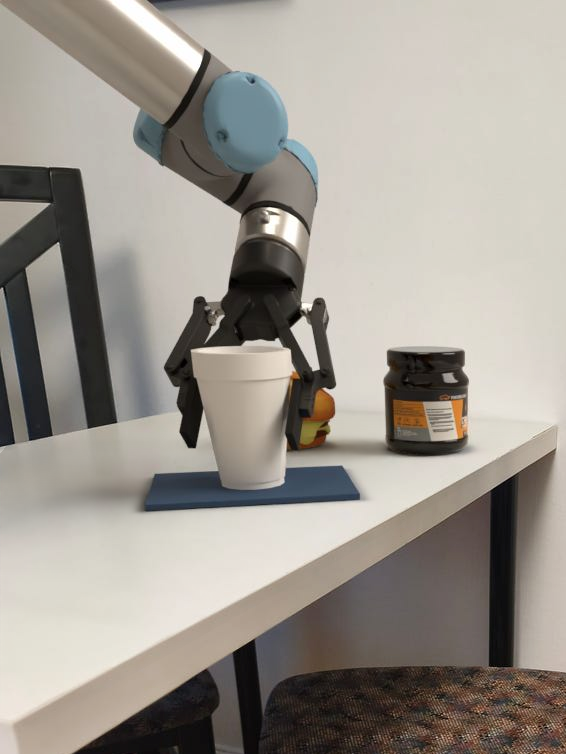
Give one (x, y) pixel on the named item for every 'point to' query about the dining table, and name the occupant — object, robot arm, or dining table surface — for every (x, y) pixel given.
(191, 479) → the cup mat
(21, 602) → the dining table surface
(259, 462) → the foam cup
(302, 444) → the cheeseburger
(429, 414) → the supplement container
